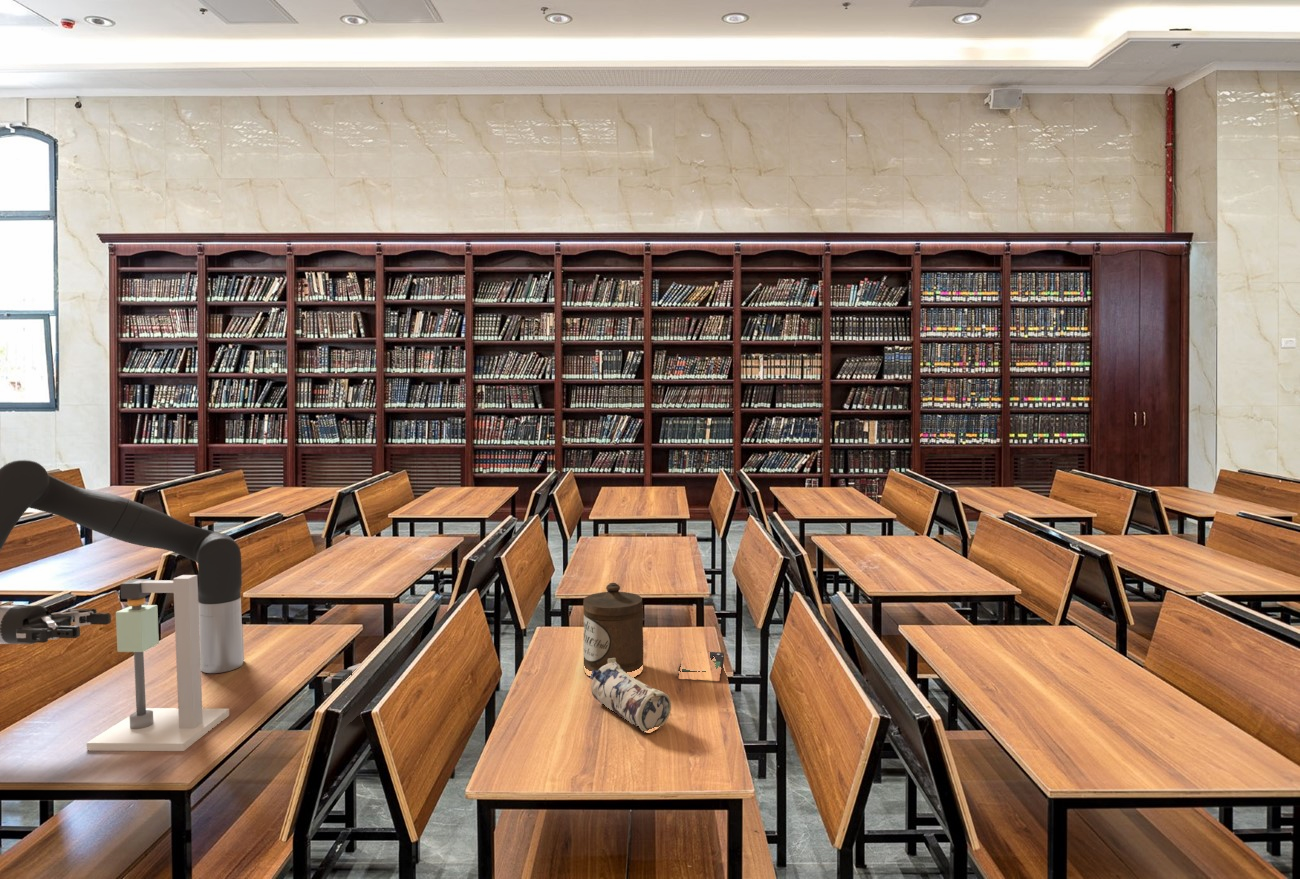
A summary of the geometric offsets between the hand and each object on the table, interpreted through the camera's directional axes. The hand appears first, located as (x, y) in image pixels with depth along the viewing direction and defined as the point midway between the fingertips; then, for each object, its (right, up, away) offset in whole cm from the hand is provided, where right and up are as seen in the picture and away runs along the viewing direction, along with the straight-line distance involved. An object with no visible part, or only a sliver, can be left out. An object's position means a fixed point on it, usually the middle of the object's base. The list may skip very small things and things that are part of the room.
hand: (94, 625), depth 154 cm
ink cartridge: (+45, -22, +13) cm, 51 cm away
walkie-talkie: (+44, -21, +29) cm, 56 cm away
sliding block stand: (+12, -22, +1) cm, 25 cm away
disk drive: (+124, -21, +37) cm, 132 cm away
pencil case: (+107, -22, +10) cm, 110 cm away
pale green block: (+9, -5, 0) cm, 10 cm away
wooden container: (+103, -20, +36) cm, 111 cm away
